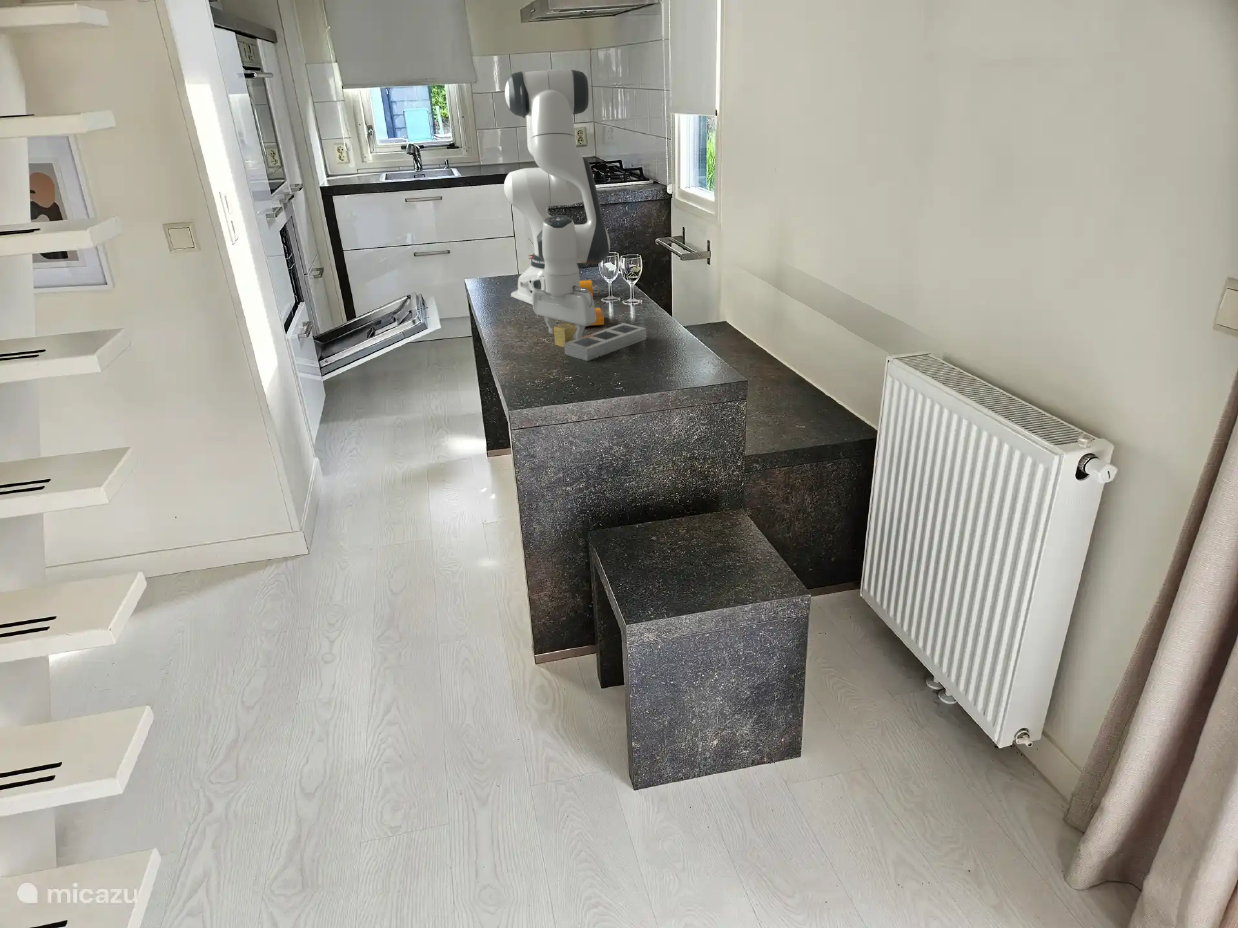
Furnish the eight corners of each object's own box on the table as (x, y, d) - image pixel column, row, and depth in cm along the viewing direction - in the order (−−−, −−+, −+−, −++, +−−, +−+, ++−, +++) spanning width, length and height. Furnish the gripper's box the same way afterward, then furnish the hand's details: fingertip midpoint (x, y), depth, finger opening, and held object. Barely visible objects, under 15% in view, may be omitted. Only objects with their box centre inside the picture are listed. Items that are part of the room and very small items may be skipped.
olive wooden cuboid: (555, 345, 213) (553, 326, 210) (566, 341, 215) (564, 322, 213) (565, 347, 210) (564, 329, 208) (576, 344, 213) (575, 325, 210)
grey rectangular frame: (565, 354, 205) (564, 343, 204) (623, 333, 219) (623, 323, 218) (587, 361, 200) (586, 349, 199) (646, 339, 214) (646, 328, 213)
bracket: (604, 327, 225) (602, 284, 220) (578, 329, 225) (576, 286, 219) (600, 316, 235) (598, 275, 230) (575, 318, 234) (572, 277, 229)
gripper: (600, 286, 201) (602, 340, 207) (544, 276, 214) (548, 327, 220) (582, 292, 197) (585, 346, 203) (526, 280, 210) (530, 332, 216)
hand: (565, 336), depth 211 cm, fingers open, 8 cm apart
